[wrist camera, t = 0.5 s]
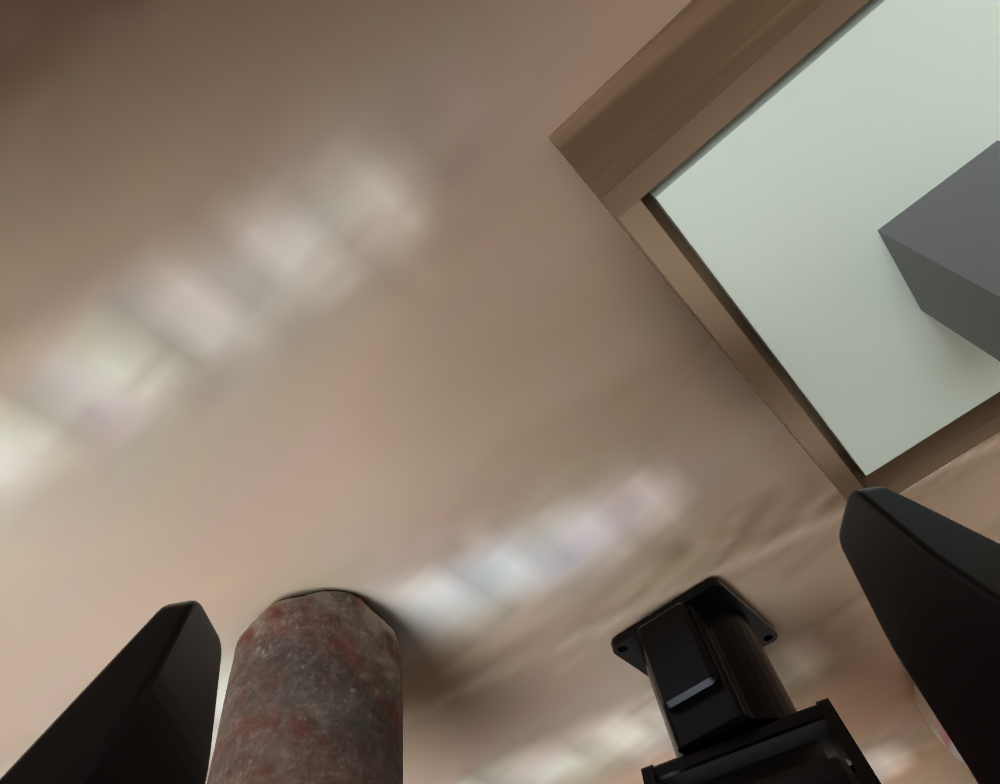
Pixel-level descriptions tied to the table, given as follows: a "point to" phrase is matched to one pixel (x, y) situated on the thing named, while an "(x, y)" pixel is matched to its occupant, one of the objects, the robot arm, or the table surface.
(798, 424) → the walnut box
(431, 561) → the table surface
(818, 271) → the cover plate
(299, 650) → the rusty brown cylinder
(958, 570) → the robot arm
